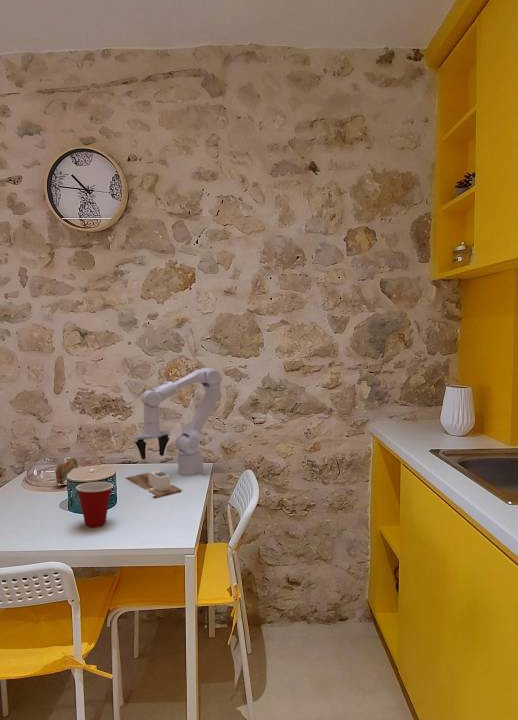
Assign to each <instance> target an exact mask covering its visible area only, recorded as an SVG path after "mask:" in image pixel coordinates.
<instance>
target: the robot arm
mask: <svg viewBox="0 0 518 720" xmlns="http://www.w3.org/2000/svg"><path fill="white" fill-rule="evenodd" d="M222 380H223V377H222V375H221V372H220V371H219V370H218V369H216V368H211V367H210V368H209V367H206V366H205V367H201V368H200V369H199V368H198V369H196V370H194V371H193V372H191V373H189V374H186V375H185V376H183V377H181V378H180V379H178V380H176V381H174V382H173V381H167V380H166V381H164V382H162V383H163V384H160V385H158V386H157V387H155V386H153V387H152V390H151V389H149V390H146V391H144V392H143V393H142V395H141V398H140V400H141V402H142V404H143V430H144V431H143V433H139V434H136V435H133V436H132V438H133V439H132V441H133V442H134V443H135V445H136V447H137V449H138V451H139V454H140V459H141V460H146V457H147V455H146V446H147V442H145V440H152V439H157V440H158V453H159V456H161V457H163V456H164V455H165V450H166V447H167V445H168V442H169V441H170V437H171V431H170V430H167V429H166V430H160V406H159V405H160V404H161V402H163V401H165V400H167V399H169V398H172V397H173V396H175V395H177V392H178V391H179V390H181V389H183V388H186V387H187V386H190V385H192V384H195V383H200V384H201V385H202V386H203V389H204V391H205V394H204V395H203V397H202V400H201V401H200V403H199V405H198V407H197V409H196V411H195V413H194V415H193V416H192V418H191V420H190V422H189V424H188V427H186V428H185V429H183V431H182V432H181V434H180V435H178V437H177V438H176V440H175V447H176V449H178V451H177V460H178V461H177V467H178V469H177V471H178V472H177V473H178V475H179V476H182V477H183V476H184V477H187V476H188V477H189V476H194V475H197V474H199V475H201V476H202V475H203V476H204V475H205V473H204V457H203V454H202V452H201V451H199V445H200V440H201V432H202V429H203V428H204V426H205V424H206V422H207V421H208V418H209V416H210V414H211V413H212V410H213V409H214V407H215V405H216V402H217V401H218V399H219V397H220V395H221V382H222Z"/></svg>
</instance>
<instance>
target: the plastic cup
mask: <svg viewBox="0 0 518 720" xmlns="http://www.w3.org/2000/svg"><path fill="white" fill-rule="evenodd" d="M112 488H114V484H113V483H111V482H106V481H91V482H85V483H81V484H79V485H76V486H75V490H76V491H77V494H78V499H79V502H80V506H81V507H80V508H81V512H82V516H83V520H84V524H85V526H86V527H87V526H88V528H98V527H97V526H99V527H102V526H104V525H105V524H106V521H107V515H108V510H109V509H108V508H109V504H110V503H109V502H110V496H111V492H112ZM104 523H105V524H104ZM103 524H104V525H103ZM101 525H102V526H101Z"/></svg>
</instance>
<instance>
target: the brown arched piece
mask: <svg viewBox="0 0 518 720" xmlns="http://www.w3.org/2000/svg"><path fill="white" fill-rule="evenodd" d="M73 468H78V469H79V466H78V461H77V460H76V459H75V458H68V459H67V458H66V459H65V460H64V461H62V462H61V463H60V464H58V465H57V466H56V471H55V478H56V480H55V481H56V484H57V483H60V484H64V483H63V482H64V481H65V480H66V477H67V474H68V473H69V472H70V471H71V470H72V469H73Z"/></svg>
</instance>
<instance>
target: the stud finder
mask: <svg viewBox="0 0 518 720" xmlns="http://www.w3.org/2000/svg"><path fill="white" fill-rule="evenodd" d="M147 473H148V481H149V486H151V487H153V488H155V489H156V490H158V491H164V490H169V489H170V484H171V475H170V474H168V473H165V472H163V471H162V470H160V469H155V470H151V471H148V472H147Z"/></svg>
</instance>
